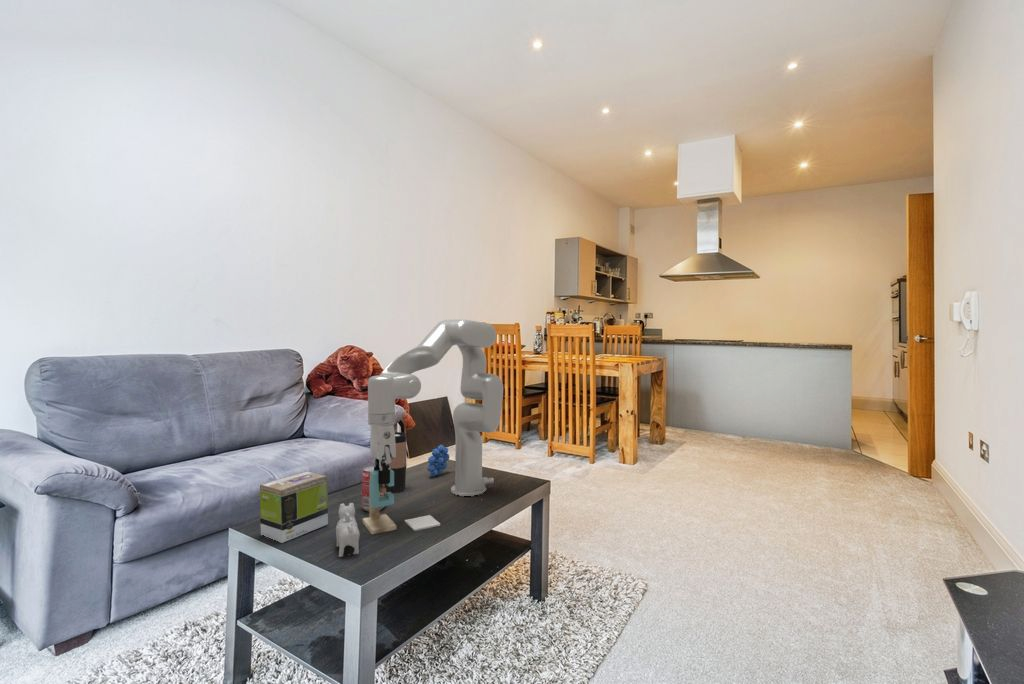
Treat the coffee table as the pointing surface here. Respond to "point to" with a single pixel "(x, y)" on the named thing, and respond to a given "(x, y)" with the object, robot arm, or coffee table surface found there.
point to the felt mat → (422, 522)
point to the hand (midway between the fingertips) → (381, 481)
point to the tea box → (293, 506)
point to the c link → (374, 491)
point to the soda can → (366, 488)
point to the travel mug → (398, 464)
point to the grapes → (438, 460)
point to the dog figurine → (347, 529)
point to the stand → (378, 518)
